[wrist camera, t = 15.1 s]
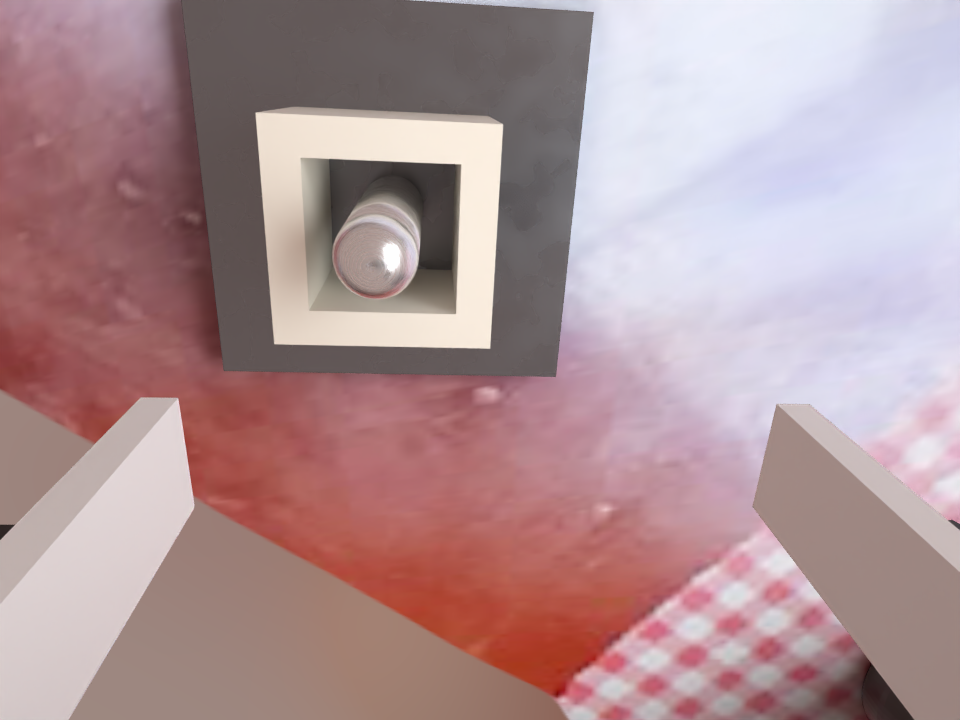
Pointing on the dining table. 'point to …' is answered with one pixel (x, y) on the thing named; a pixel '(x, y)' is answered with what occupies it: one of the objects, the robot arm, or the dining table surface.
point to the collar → (308, 227)
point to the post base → (392, 163)
